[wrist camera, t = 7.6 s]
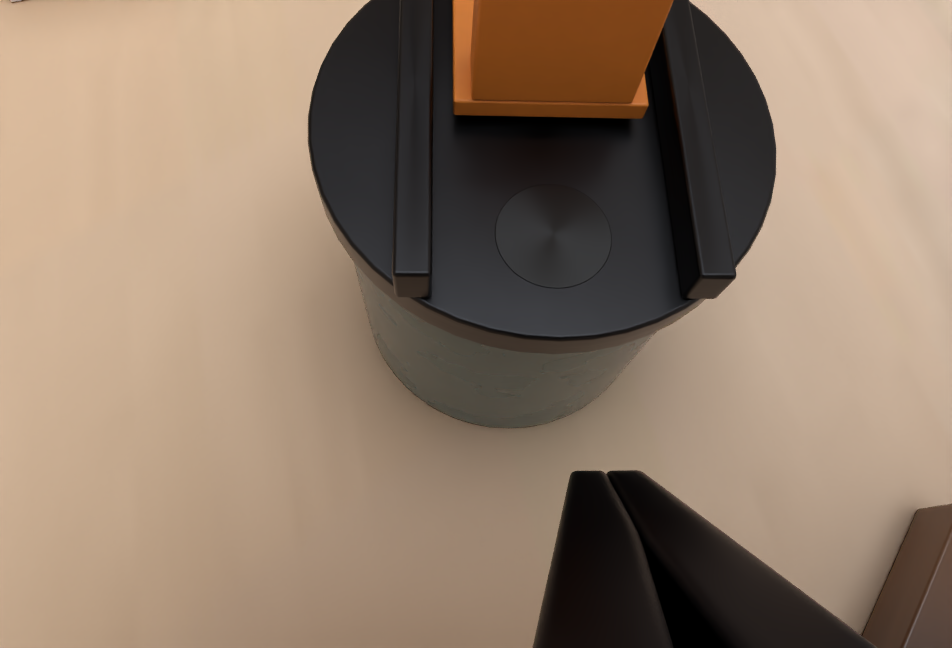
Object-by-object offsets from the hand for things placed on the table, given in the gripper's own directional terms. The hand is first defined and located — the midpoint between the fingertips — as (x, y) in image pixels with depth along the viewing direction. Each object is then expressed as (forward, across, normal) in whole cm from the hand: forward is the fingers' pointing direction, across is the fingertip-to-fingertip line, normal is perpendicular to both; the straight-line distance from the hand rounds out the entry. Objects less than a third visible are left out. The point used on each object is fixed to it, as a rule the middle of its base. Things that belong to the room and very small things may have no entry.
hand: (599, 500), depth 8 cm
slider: (+7, 0, -5) cm, 9 cm away
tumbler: (+12, 0, +2) cm, 12 cm away
